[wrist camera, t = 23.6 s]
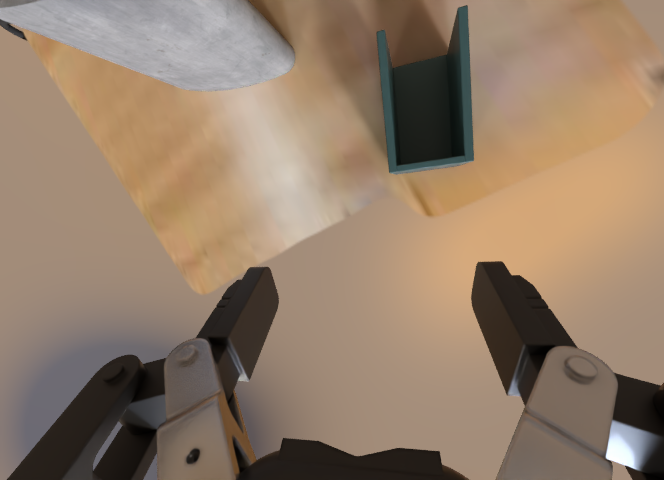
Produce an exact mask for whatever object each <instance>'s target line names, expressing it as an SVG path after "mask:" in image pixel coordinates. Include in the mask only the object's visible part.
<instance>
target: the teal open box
mask: <svg viewBox="0 0 664 480" xmlns="http://www.w3.org/2000/svg"><path fill="white" fill-rule="evenodd" d="M377 44H378V55H379V66H380V77H381V88H382V99H383V110H384V120H385V131H386V142H387V153H388V164H389V173H393V174H404V173H411V172H419V171H426V170H433V169H440V168H447V167H454V166H460V165H463V164H466V163H469V162H472V161H474V150H473V126H472V101H471V77H470V53H469V28H468V6H467V5H466V6H463V7H459V8H458V10H457V14H456V18H455V22H454V27H453V31H452V35H451V39H450V43H449V47H448V52H447V55H443V56H439V57H435V58H431V59H427V60H423V61H419V62H415V63H411V64H407V65H403V66H399V67H395V68H393V66H392V62H391V57H390V52H389V48H388V43H387V38H386V34H385V30H381V31H378V32H377Z"/></svg>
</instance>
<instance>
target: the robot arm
mask: <svg viewBox="0 0 664 480" xmlns="http://www.w3.org/2000/svg"><path fill="white" fill-rule="evenodd" d="M10 24H11V23H9V22H6V21H3V20H1V19H0V25H1V26H2V27H3V28H4V29H6V30H7V31H9V32H10V33H12V34H14V35H16V36H18V37H20V38H22V39H24V40H26V41H27V39H26V37H25V35H24V32H22V31H20V30H18V29H16V28H15V27H13V26H11V25H10ZM278 299H279V298H278V293H277V289H276V287H275V283H274V280H273V277H272V273H271V270H270V268H269V267H250V268H249V269H248V270H247V272H246V274H245V275H244V277H243V279H242V280H237V281H236V282H235V283H233V284H232V285H231V286H230V287H229V288H228V289H227V290H226V292H225V293H224V295H223V296H222V300H220V301H219V303H218V304H217V307H216V308H215V309H214V310H213V312H212V314H211V315H210V317H209V318H208V320H207V321H206V323H205V325H204V326H203V328H202V329H201V331H200V332H199V334H198V335H197V337H196V338H195V339H190V340H188V341H185V342H183V343H181V344H180V345H178V346H177V347H176V348H175V349H174V350H172V352H171V353H170V354H169V355H168V357H167V358H164V359H160V360H157V361H153V362H149V363H146V364H142V362H141V361H140V360H139V359H138V357H137V356H134V355H125V356H121V357H118V358H116V359H114V360H112V361H110V362H109V363H107V364H106V365H104V366H103V367H102V368H101V369H100V370H99V371H98V372H97V373H96V374H95V375H94V376H93V377H92V378H91V380H90V381H89V382H88V383H87V385H86V386H85V387H84V388H83V389H82V390H81V392H80V393H79V394H78V395H77V396H76V398H75V399H74V400H73V401H72V402H71V404H70V405H69V406H68V407H67V409H66V410H65V411H64V412H63V413H62V414H61V416H60V417H59V418H58V419H57V420H56V422H55V423H54V424H53V425H52V426H51V428H50V429H49V430H48V431H47V432H46V434H45V435H44V436H43V437H42V438H41V439H40V441H39V442H38V443H37V444H36V445H35V447H34V448H33V449H32V450H31V451H30V453H29V454H28V455H27V456H26V457H25V459H24V460H23V461H22V462H21V464H20V465H19V466H18V467H17V468H16V469H15V471H14V472H13V473H12V474H11V475H10V477H9V478H8V479H7V480H143V479H144V476H145V475H146V473H147V471H148V469H149V467H150V465H151V463H152V461H153V459H154V457H155V455H156V453H157V480H469V479H468V478H466V477H465V476H463V475H462V474H460V473H458V472H457V471H455V470H453V469H451V468H449V467H447V466H444V465H442V463H441V457H440V452H439V451H428V450H416V449H405V448H396V449H391V450H387V451H382V452H377V453H373V454H368V455H364V456H354V455H351V454H348V453H346V452H344V451H341V450H339V449H336V448H334V447H332V446H329V445H327V444H324V443H322V442H319V441H310V440H299V439H287V438H283V440H282V444H281V448H280V450H279V451H276V452H273V453H271V454H268V455H266V456H264V457H262V458H260V459H258V460H256V457H255V454H254V452H253V449H252V447H251V445H250V442H249V439H248V435H247V432H246V428H245V425H244V421H243V418H242V414H241V411H240V408H239V404H238V400H237V396H236V393H235V391H234V388H235V386H236V383H237V381H249V380H250V378H251V375H252V373H253V370H254V368H255V365H256V363H257V360H258V357H259V355H260V352H261V350H262V347H263V345H264V342H265V339H266V337H267V335H268V332H269V329H270V327H271V324H272V322H273V319H274V317H275V314H276V311H277V309H278V303H279V300H278ZM471 300H472V307H473V310H474V313H475V315H476V318H477V321H478V323H479V326H480V328H481V331H482V333H483V336H484V338H485V341H486V343H487V346H488V348H489V351H490V353H491V356H492V358H493V361H494V363H495V366H496V369H497V371H498V374H499V376H500V379H501V381H502V384H503V386H504V389H505V391H506V394H507V395H509V396H521V397H522V400H523V402H524V405H525V408H524V410H523V413H522V415H521V417H520V420H519V422H518V425H517V427H516V430H515V432H514V435H513V437H512V440H511V442H510V445H509V447H508V450H507V452H506V455H505V458H504V460H503V462H502V465H501V467H500V470H499V472H498V474H497V477H496V479H495V480H612V472H613V466H612V462H611V461H610V460H612V461H615V462H617V463H620V464H623V465H625V467H626V469H627V471H628V472H629V474H630V476H631V478H632V479H633V480H664V383H663V384H662V385H661V386H660V385H656V384H652V383H649V382H645V381H641V380H638V379H634V378H630V377H626V376H623V375H620V374H616V373H614V372H613V371H612V370H611V369H610V368H609V367H608V365H607V364H605V363H604V362H603V361H602V360H600V359H599V358H598V357H596V356H594V355H593V354H591V353H588V352H587V351H584V350H581V349H579V348H577V346H576V345H575V343H574V342H573V341H572V339H571V338H570V336H569V335H568V334H567V332H566V331H565V329H564V328H563V326H562V325H561V324H560V322H559V321H558V319H557V318H556V317H555V315H554V314H553V312H552V311H551V310H550V309H548V305H547V304H546V302H545V301H544V300H543V299H542V298H541V295H540V294H539V293H538V291H537V290H536V288H535V287H534V286H533V285H532V284H531V283H530V282H528V281H527V280H525V279H524V278H523V277H521V276H520V275H513V276H512V275H511V274H510V273H509V271H508V269H507V268H506V266H505V264H504V263H503V262H501V261H500V262H499V261H498V262H478V263H477V266H476V271H475V277H474V282H473V288H472V296H471ZM118 421H119V422H120V423H121V424H122V425H123V426H122V427H121V429H120V430H119V432H118V433H117V435H116V437H115V438H114V440H113V441H112V443H111V444H110V446H109V447H108V449H107V451H106V452H105V454H104V455H103V457H102V458H101V460H100V462H99V463H98V465H97V466H96V468H95V469H94V471H93V462H94V459H95V457H96V455H97V453H98V451H99V450H100V448H101V447H102V445H103V444H104V442H105V441H106V439H107V437H108V436H109V435H110V433H111V431H112V430H113V429H114V427H115V425H116V424H117V422H118ZM608 459H609V460H608Z"/></svg>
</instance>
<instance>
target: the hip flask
mask: <svg viewBox="0 0 664 480" xmlns="http://www.w3.org/2000/svg"><path fill="white" fill-rule="evenodd" d="M0 19H1V20H3V21H6V22H9V23H11V24H14V25H17V26H19V27H22V28H24V29H27V30H30V31H32V32H35V33H37V34H40V35H43V36H45V37H48V38H51V39H53V40H56V41H58V42H61V43H64V44H66V45H69V46H71V47H74V48H77V49H79V50H82V51H85V52H87V53H90V54H92V55H95V56H98V57H100V58H103V59H105V60H108V61H111V62H113V63H116V64H119V65H121V66H124V67H126V68H129V69H132V70H134V71H137V72H139V73H142V74H145V75H147V76H150V77H153V78H155V79H158V80H160V81H163V82H166V83H168V84H171V85H173V86H176V87H179V88H181V89H184V90H194V91H218V90H227V89H234V88H240V87H245V86H250V85H254V84H258V83H261V82H264V81H268V80H270V79H273V78H276V77H278V76H281V75H283V74H286V73H287V72H289V71H290V70H291V68H292V67H293V65H294V62H295V52H294V49H293V48H292V46H291V45H290V44H289V43H288V42H287V41H286V40H285V39H284V38H283V36H282V35H281V34H280V33H279V32H278V31H277V30H276V29H275V28H274V27H273V26H272V25H271V24H270V23H269V22H268V21H267V20H266V19H265V17H264V16H263V15H262V14H261V13H260V12H259V11H258V10H257V9H256V8H255V7H254V6H253V5H252V4H251V3H250V2H249V1H248V0H0Z"/></svg>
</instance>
